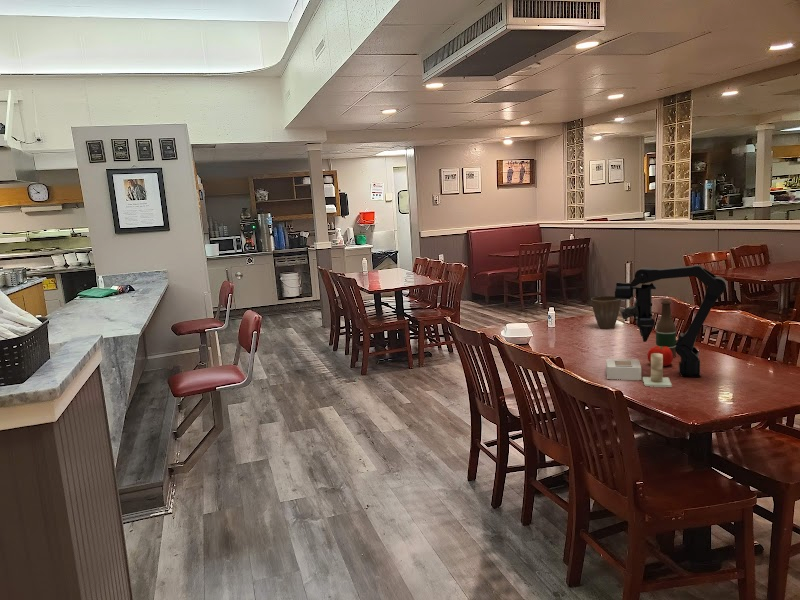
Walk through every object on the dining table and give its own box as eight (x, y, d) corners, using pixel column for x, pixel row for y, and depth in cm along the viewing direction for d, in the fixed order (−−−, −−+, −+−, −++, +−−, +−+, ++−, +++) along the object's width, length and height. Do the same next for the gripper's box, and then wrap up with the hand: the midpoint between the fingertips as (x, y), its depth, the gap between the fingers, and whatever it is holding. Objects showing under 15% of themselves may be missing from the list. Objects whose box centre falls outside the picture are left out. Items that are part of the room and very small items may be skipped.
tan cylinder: (661, 379, 210) (662, 353, 208) (663, 382, 206) (663, 356, 205) (650, 378, 211) (650, 353, 210) (651, 382, 208) (651, 355, 206)
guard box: (638, 371, 225) (638, 358, 224) (641, 380, 213) (641, 367, 212) (606, 370, 228) (606, 358, 227) (607, 379, 217) (607, 366, 216)
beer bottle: (655, 357, 241) (655, 302, 238) (656, 353, 248) (656, 299, 244) (675, 358, 238) (676, 302, 234) (676, 354, 245) (676, 299, 241)
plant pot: (603, 332, 293) (603, 301, 290) (585, 327, 307) (585, 298, 304) (627, 328, 298) (627, 298, 295) (608, 323, 312) (608, 295, 309)
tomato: (670, 362, 234) (670, 344, 233) (674, 368, 226) (674, 350, 224) (646, 361, 237) (646, 344, 236) (648, 367, 228) (648, 349, 227)
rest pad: (668, 380, 212) (668, 377, 212) (671, 387, 203) (671, 385, 203) (642, 379, 215) (642, 376, 214) (644, 386, 206) (644, 384, 206)
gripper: (620, 296, 232) (620, 333, 234) (623, 304, 214) (623, 344, 217) (649, 295, 228) (649, 333, 231) (655, 304, 211) (655, 344, 213)
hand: (643, 338), depth 223 cm, fingers open, 9 cm apart
